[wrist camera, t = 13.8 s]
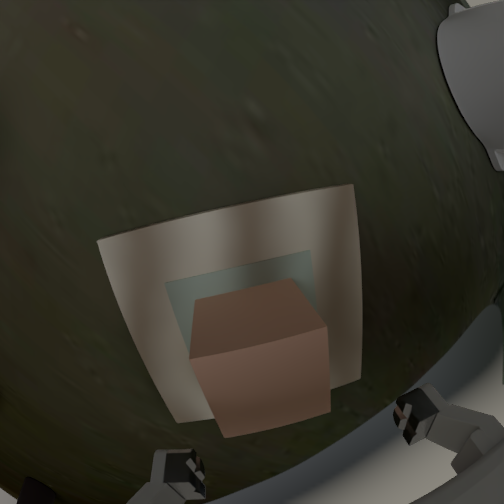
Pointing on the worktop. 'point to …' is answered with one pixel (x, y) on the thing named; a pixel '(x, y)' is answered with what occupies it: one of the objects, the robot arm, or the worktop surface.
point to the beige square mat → (237, 279)
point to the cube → (261, 357)
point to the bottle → (35, 493)
